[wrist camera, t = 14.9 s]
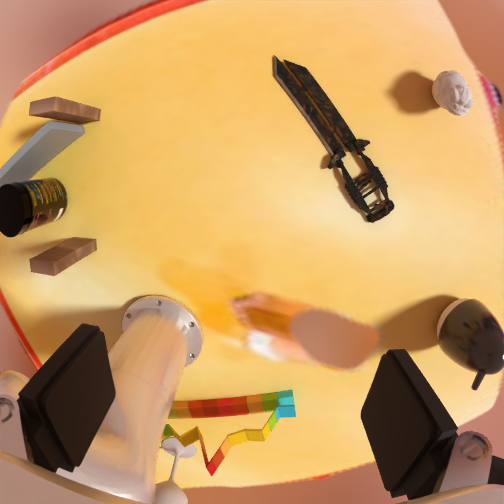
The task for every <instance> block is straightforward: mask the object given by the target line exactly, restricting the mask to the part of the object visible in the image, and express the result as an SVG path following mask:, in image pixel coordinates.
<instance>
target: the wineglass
mask: <svg viewBox="0 0 504 504" xmlns="http://www.w3.org/2000/svg"><path fill="white" fill-rule="evenodd" d="M162 446H163V448H164V449H165V451H167V452H168V453H170V454H172V455H174V456H175V460H174V464H173V468H172V472H171V476H170V478H169V480H168V481H164V482H161V483H157V484H156V485H155V498H154V504H187V503H188V502H187V497H186V495H185V493H184V492H183V491H182V489H181V488H180V487H179V486H178V485H177V484H175V482H174V476H175V471H176V467H177V463H178V459H179V457H182V458H188V457H192V456H194V455H195V454H196V447H195V446H194V445H193V444H190V445H188V446H187V447H184V446H183V445H182V444H181V443H180V442H179V441H178V440H177V439H176V438H175V437H170V438H166V439H165V440H163V443H162Z"/></svg>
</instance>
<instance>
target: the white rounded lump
mask: <svg viewBox="0 0 504 504" xmlns="http://www.w3.org/2000/svg"><path fill="white" fill-rule="evenodd" d="M432 95H433V98H434V100H435V101H436V102H437V104H438V105H439V106H441V107H442V108H444V109H447V110H448V111H449V112H450V113H453V114H454V115H460V116H465V114H466V113H468V111H469V109H470V107H471V106H472V105H473V101H472V95H471V91H470V89H469V86H468V84H467V82H466V81H465V79H464V78H463V76H462V75H461V74H459V73H458V72H456V71H449V72H448V71H444V72H441V73H440V74H439V75H438V76H437V78H436V80H435V81H434V83H433V85H432Z"/></svg>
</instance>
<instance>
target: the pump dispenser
mask: <svg viewBox="0 0 504 504" xmlns="http://www.w3.org/2000/svg"><path fill="white" fill-rule="evenodd" d="M437 337H438V341H439V346H440V348H441V350H442V351H443V352H444V354H445V355H447V356H448V357H449V358H450V359H451V360H453V361H454V362H455V363H457V364H458V365H460V366H461V367H463V368H465V369H467V370H469V371H472V372H475V373H477V374H476V377H475V379H474V382H473V384H472V387H471V388H472V389H473V390H477V389H478V387H479V385H480V383H481V382H482V380H483V378H484V376H485V375H493V374H496V373H498V372H499V371H501V370H502V369H503V367H504V332H503V329H502V327H501V326H500V324H499V322H498V320H497V319H496V317H495V316H494V315H493V314H492V312H491V311H490V310H489V309H488V308H487V307H486V306H485V305H484V304H483V303H482V302H480V301H479V300H476V299H459V300H456V301H454V302H453V303H451V304H450V305H449V306H448V307H447V308H446V309H445V310H444V311H443V313H442V314H441V316H440V318H439V321H438V325H437Z"/></svg>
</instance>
